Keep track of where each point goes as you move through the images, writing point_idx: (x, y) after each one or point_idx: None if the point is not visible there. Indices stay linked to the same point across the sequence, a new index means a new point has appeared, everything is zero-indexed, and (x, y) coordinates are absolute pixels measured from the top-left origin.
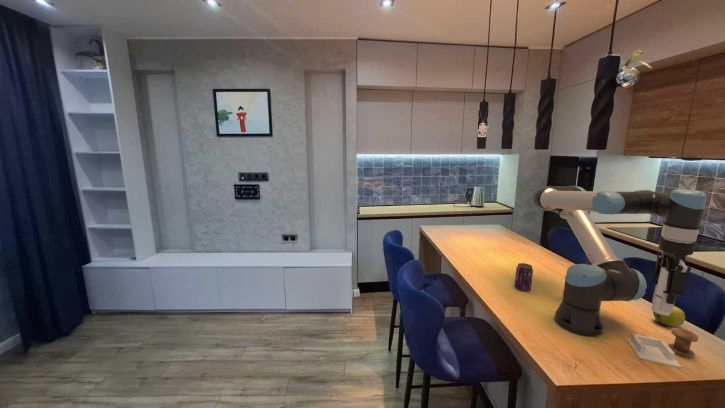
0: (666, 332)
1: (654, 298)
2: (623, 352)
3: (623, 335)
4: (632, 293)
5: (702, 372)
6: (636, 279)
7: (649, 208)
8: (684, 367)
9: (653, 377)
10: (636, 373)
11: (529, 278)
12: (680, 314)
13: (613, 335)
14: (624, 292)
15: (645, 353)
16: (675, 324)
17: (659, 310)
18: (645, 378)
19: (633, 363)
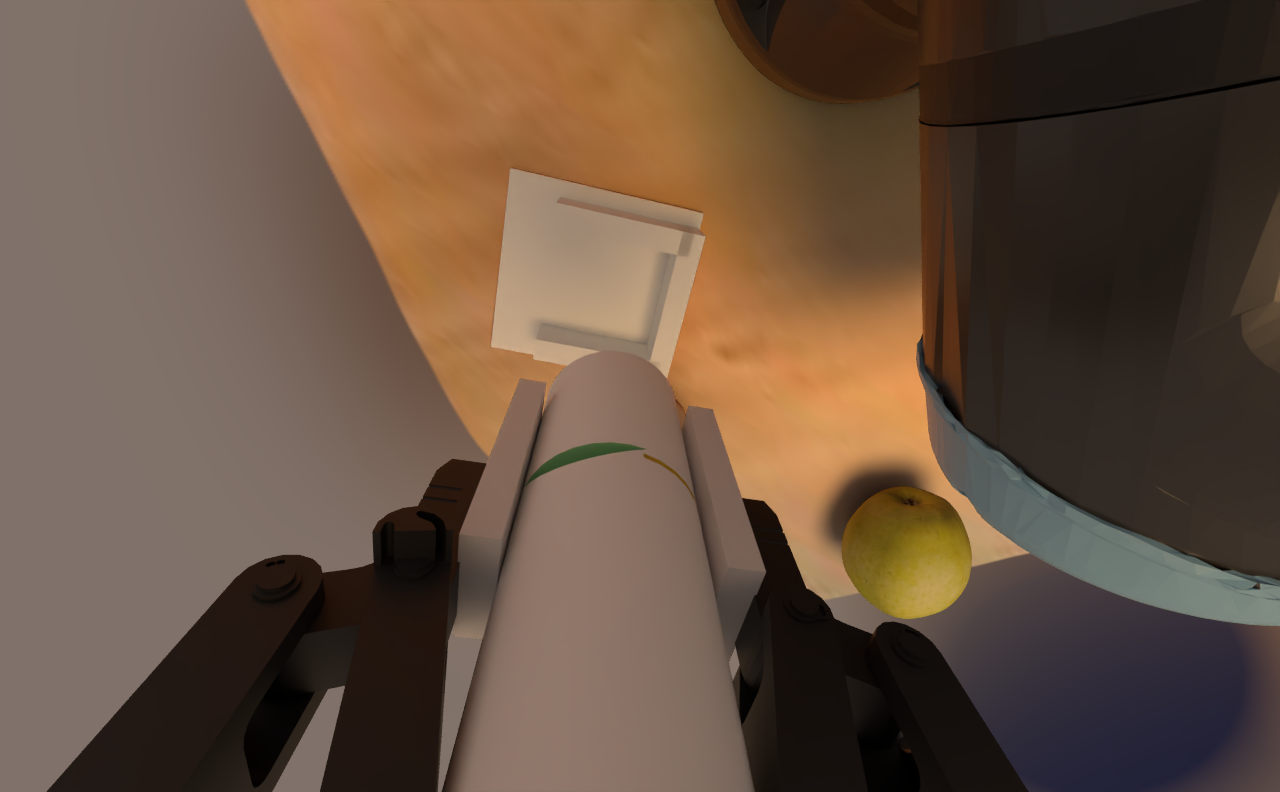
0: (807, 469)
1: (633, 418)
2: (554, 98)
3: (753, 221)
4: (941, 354)
5: (493, 417)
6: (1113, 491)
7: None
8: (508, 365)
9: (340, 137)
10: (335, 44)
11: None
12: (871, 591)
13: (745, 149)
14: (947, 254)
15: (565, 231)
16: (844, 535)
17: (557, 385)
18: (305, 75)
19: (445, 93)
